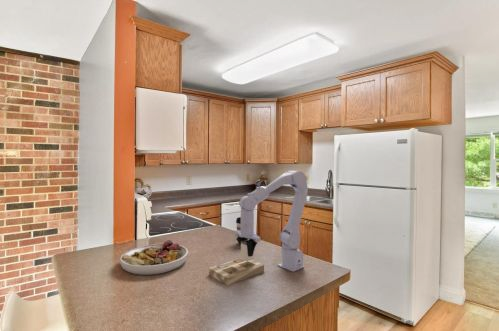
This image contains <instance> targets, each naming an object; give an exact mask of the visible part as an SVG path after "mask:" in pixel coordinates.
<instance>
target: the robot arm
mask: <svg viewBox="0 0 499 331" xmlns="http://www.w3.org/2000/svg"><path fill="white" fill-rule="evenodd" d="M307 180H308V177H307V175H306V174H305V172H303V171H301V170H294V169H293V170H292V169H291V170H287V171H286V172H284V173H282V174H281V175H280V176H278V177H277V178H276V179H274V180H273V181H271V182H270V183H269V184H267V185H266V186H264V185H263V186H262V185H261V186H257V187H256V188H255V189H254V190H253V191H252V192H248V193H247V195H244V196H242V197H241V198H240V199H239V202H238V204H239V207H240V217H241V231H240V230H237V229H236V230H235V231H234V236H237V235H239V237H238V236H237V237H236V238H235V239H236V241H237V244H238V243H239V244H238V245H239V249H240V250H241V241H243V240H247V239H249V240H247V241H246V244H247V248H248V256H249V257H250V256H253V253H254V254H255V249H256V247H257V244H258V243H259V242H261V236H259V235H257V234H255V233H254V230H255V229H254V227H255V222H254V220H255V218H254V217H255V216H254V212H255V211H254V209H255V208H256V207H257V205H258V204H260V203H262V202H263V201H265V200H266V199H268V198H269V196H270V193H272V192H274V191H276V190H277V189H279V188H281V187H282V186H284V185H290V186H291V187H292V189H293V190H294V192H295V193H294V196H293V200H292V204H291V209H290V211H289V216H288V220H287V224H286V225H285V226H283V230H282V231H281V232H280V234H279V241H280V242H281V263H279V264H277V266H278V267H280V268H283V269H285V270H287V271H291V272H292V273H295V272H297V271H299V270H301V269H303V268H305V266H304V252H303V251H302V249H301V250H300V249H299V246H300V244H301V231H300V229H299V228H300V224H301V220H302V216H303V213H304V209H305V204H306V200H307V196H308V193H309V188H308V184H307V183H308V181H307Z"/></svg>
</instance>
